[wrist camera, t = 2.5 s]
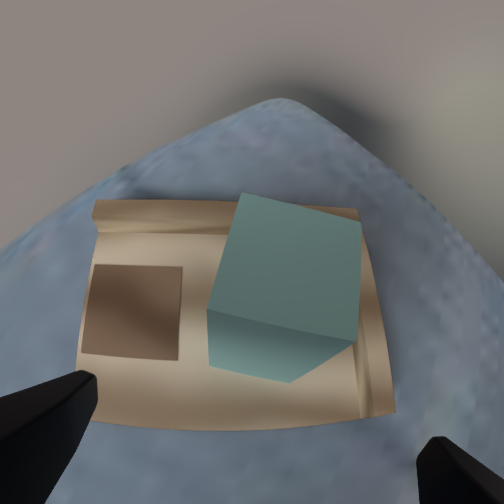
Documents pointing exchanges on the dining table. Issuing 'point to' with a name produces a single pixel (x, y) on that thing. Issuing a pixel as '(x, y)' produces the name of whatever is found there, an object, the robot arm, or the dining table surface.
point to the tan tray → (204, 331)
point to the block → (284, 290)
